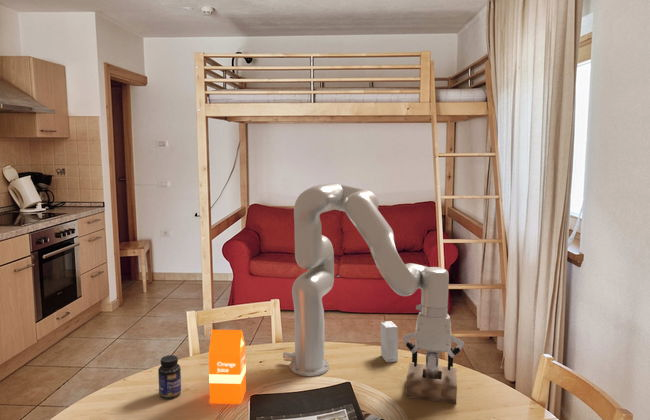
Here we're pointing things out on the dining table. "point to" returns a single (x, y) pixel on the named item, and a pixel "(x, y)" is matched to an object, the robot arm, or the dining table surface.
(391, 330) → the skincare box
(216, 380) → the orange juice
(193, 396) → the dining table surface
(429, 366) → the pin
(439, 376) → the socket block
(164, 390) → the pill bottle
